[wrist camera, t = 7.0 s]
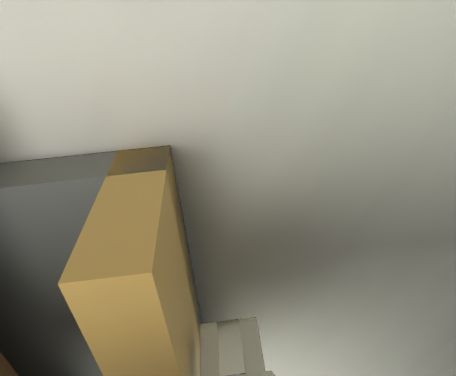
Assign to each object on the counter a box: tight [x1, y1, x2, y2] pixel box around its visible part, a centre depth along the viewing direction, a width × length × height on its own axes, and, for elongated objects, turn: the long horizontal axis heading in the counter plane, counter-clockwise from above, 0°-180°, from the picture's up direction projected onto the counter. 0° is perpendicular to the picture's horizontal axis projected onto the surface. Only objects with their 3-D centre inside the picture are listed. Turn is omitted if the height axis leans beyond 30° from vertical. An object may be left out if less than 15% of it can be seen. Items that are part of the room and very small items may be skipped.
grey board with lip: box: [0, 145, 202, 376], centre depth 10 cm, size 11×10×5 cm
